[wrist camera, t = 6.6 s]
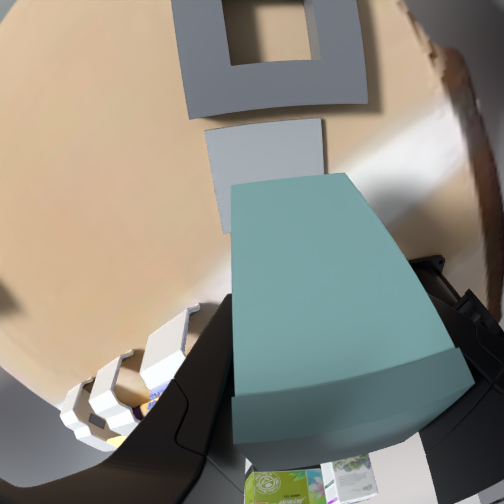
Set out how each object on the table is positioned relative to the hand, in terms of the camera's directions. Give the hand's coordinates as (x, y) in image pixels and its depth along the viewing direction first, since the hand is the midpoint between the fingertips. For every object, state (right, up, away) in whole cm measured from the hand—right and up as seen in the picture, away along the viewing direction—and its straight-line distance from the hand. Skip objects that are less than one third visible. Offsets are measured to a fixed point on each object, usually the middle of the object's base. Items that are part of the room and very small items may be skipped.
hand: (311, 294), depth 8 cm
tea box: (+5, -36, +37) cm, 52 cm away
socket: (-1, +14, +5) cm, 15 cm away
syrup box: (+11, -24, +29) cm, 40 cm away
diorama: (-13, -12, +21) cm, 28 cm away
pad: (-1, +6, +10) cm, 12 cm away
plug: (0, +2, +3) cm, 3 cm away
